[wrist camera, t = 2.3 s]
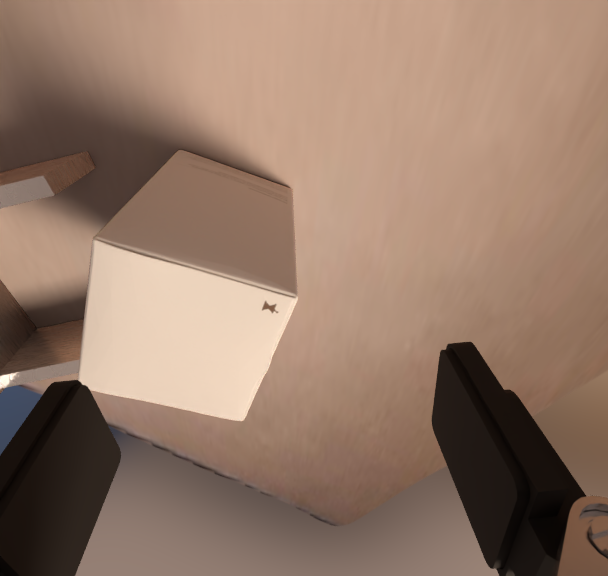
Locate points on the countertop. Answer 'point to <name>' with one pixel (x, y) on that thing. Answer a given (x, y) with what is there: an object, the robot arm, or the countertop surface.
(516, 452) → the robot arm
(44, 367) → the bracket
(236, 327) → the supplement box
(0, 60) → the countertop surface
